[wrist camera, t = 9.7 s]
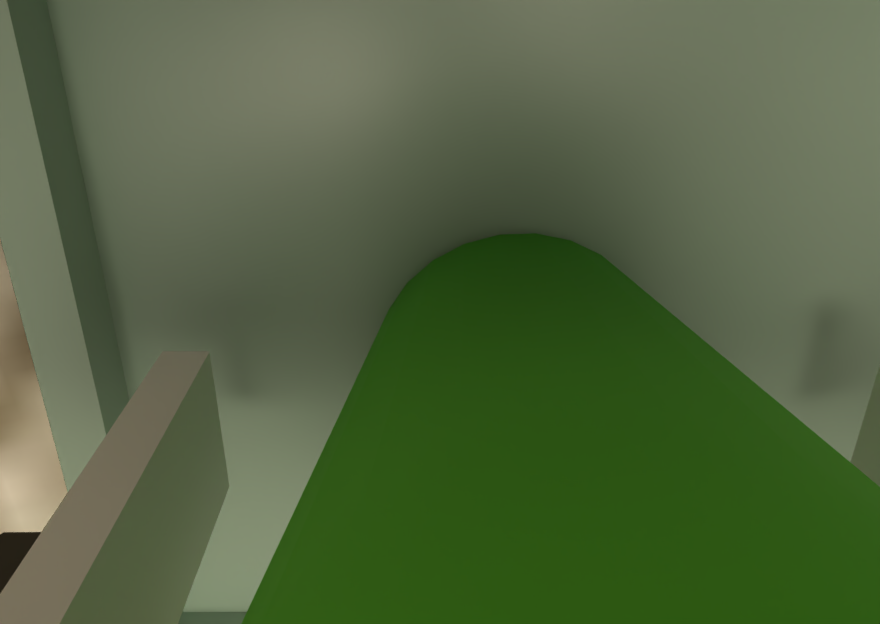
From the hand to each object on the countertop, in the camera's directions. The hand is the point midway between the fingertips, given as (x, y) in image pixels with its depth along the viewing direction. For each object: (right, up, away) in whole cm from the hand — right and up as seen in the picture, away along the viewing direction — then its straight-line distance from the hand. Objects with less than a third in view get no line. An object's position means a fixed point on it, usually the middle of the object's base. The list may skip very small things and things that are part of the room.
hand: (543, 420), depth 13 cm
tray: (0, +1, +3) cm, 3 cm away
